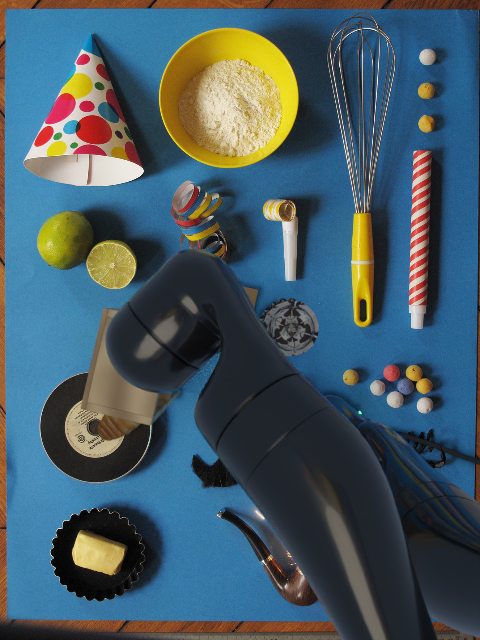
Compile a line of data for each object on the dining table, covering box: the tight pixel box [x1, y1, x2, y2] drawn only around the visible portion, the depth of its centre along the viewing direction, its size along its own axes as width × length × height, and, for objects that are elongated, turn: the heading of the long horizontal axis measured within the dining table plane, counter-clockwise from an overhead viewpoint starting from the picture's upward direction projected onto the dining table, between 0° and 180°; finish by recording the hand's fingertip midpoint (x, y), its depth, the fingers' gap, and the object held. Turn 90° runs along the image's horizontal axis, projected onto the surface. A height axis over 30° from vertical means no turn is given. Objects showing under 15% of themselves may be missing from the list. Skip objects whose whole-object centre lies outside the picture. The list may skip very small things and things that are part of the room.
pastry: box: [97, 414, 143, 442], centre depth 84 cm, size 9×7×4 cm
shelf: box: [79, 307, 181, 427], centre depth 74 cm, size 11×15×24 cm
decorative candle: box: [259, 297, 320, 357], centre depth 73 cm, size 9×9×25 cm
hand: (218, 320), depth 62 cm, fingers open, 8 cm apart
